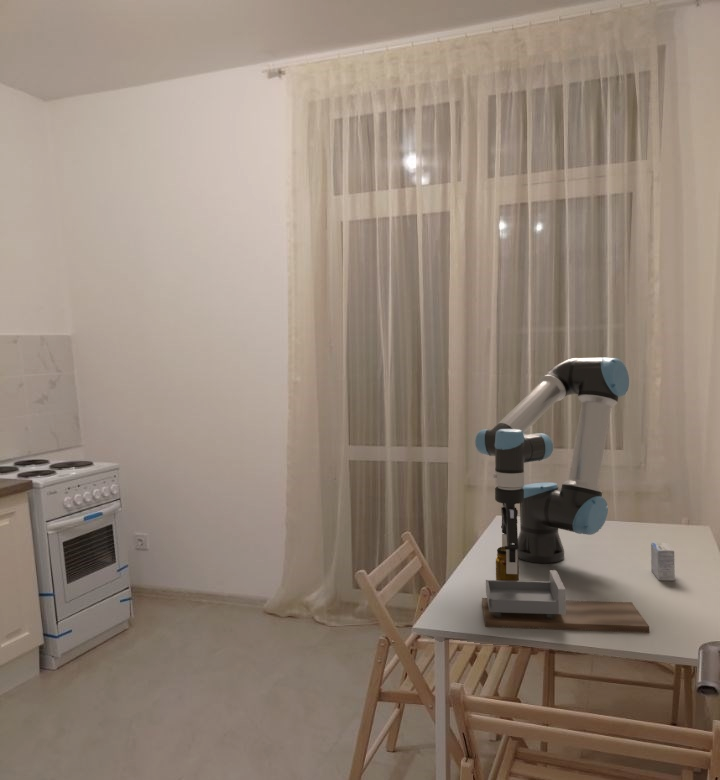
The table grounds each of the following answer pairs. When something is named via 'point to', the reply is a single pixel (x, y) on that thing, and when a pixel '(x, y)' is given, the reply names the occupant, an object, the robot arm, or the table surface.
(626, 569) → the table surface
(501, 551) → the condiment
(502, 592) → the cart
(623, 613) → the rail board
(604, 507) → the robot arm
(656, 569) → the medicine box
